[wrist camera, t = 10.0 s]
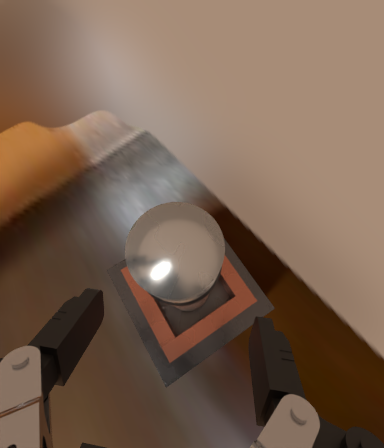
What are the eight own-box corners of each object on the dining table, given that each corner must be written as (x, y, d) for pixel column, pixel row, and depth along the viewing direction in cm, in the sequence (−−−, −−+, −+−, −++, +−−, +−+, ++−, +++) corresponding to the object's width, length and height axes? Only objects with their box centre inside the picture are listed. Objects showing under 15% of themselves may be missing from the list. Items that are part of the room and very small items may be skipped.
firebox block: (128, 282, 30) (96, 264, 20) (202, 236, 32) (206, 200, 22) (174, 367, 26) (162, 397, 17) (253, 310, 29) (284, 306, 19)
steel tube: (159, 283, 22) (104, 232, 9) (194, 261, 23) (190, 183, 10) (181, 321, 21) (154, 325, 8) (218, 296, 21) (249, 262, 8)
